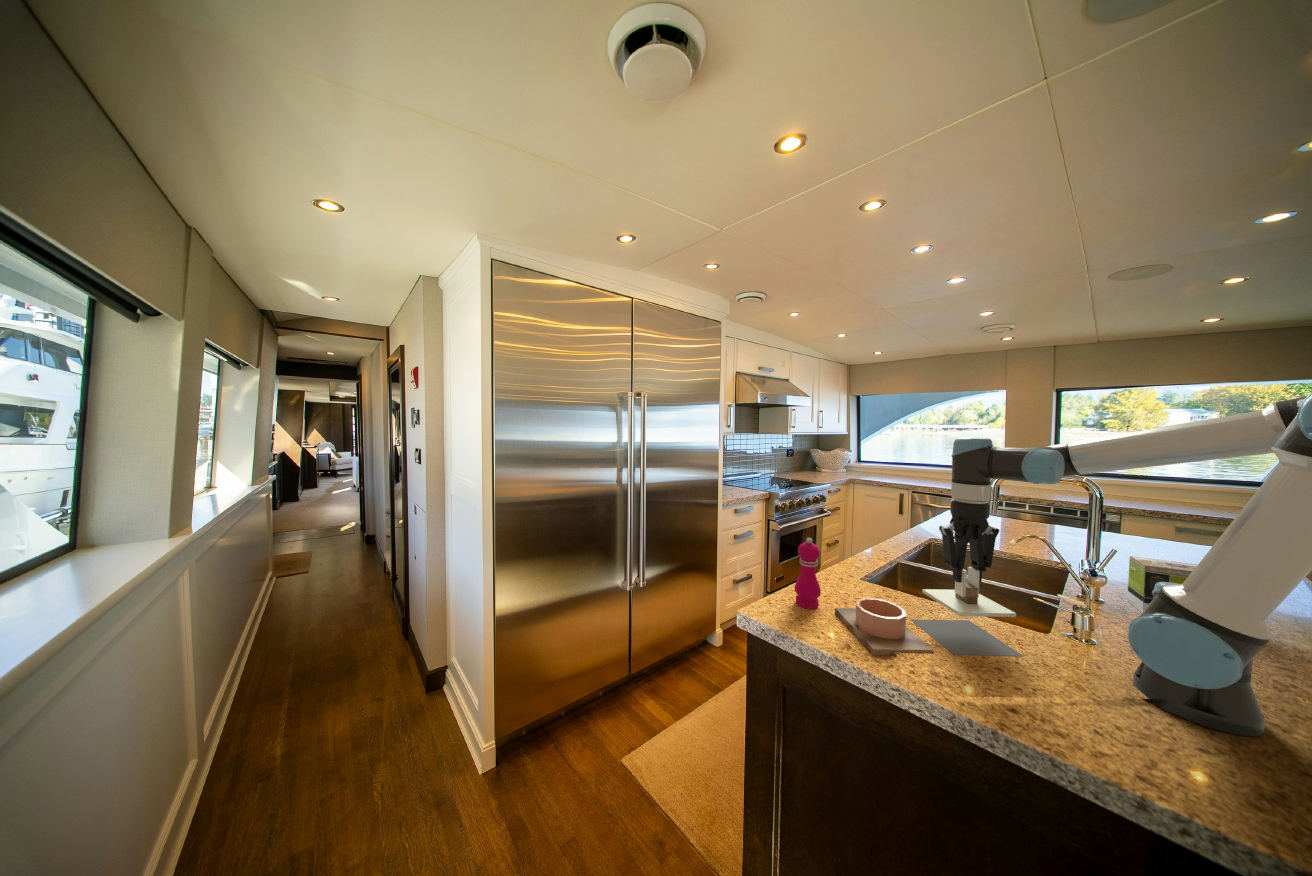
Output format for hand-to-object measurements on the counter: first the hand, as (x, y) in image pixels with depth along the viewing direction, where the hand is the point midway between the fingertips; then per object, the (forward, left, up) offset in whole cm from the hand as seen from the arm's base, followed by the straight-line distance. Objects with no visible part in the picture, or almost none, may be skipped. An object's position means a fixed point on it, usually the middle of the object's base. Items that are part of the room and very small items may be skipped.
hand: (966, 594), depth 98 cm
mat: (0, 0, -12) cm, 12 cm away
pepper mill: (+18, +32, -12) cm, 39 cm away
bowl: (+3, +19, -10) cm, 22 cm away
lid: (0, 0, -2) cm, 2 cm away
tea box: (+15, -72, -12) cm, 74 cm away
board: (+3, +19, -12) cm, 23 cm away
